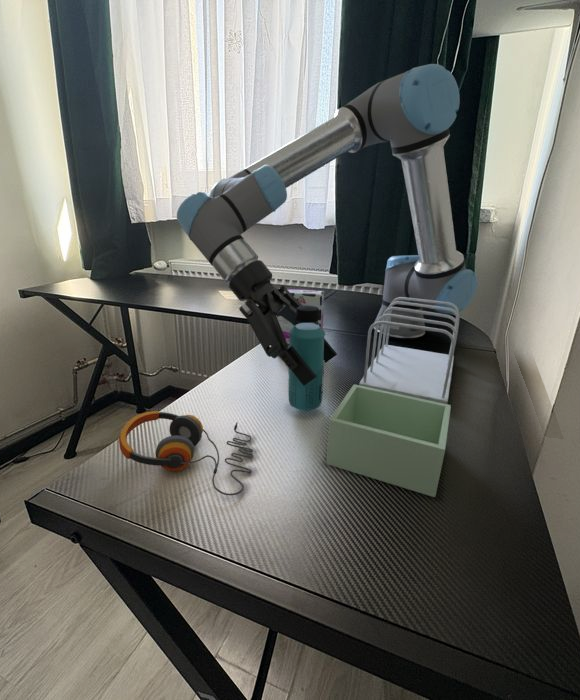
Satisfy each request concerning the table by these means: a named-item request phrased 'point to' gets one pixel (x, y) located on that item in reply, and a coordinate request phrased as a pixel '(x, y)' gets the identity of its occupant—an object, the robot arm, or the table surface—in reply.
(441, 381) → the file sorter
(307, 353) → the beverage bottle
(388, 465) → the basket
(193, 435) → the headphones
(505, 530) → the table surface
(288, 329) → the candy bar box
